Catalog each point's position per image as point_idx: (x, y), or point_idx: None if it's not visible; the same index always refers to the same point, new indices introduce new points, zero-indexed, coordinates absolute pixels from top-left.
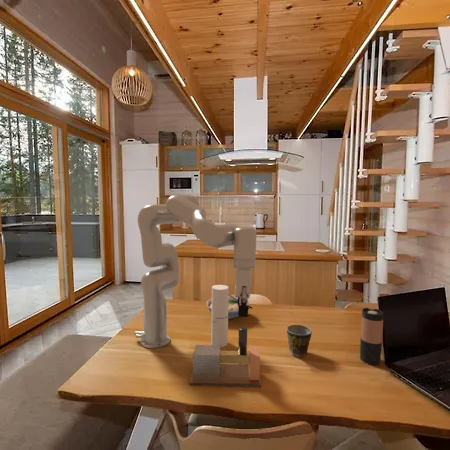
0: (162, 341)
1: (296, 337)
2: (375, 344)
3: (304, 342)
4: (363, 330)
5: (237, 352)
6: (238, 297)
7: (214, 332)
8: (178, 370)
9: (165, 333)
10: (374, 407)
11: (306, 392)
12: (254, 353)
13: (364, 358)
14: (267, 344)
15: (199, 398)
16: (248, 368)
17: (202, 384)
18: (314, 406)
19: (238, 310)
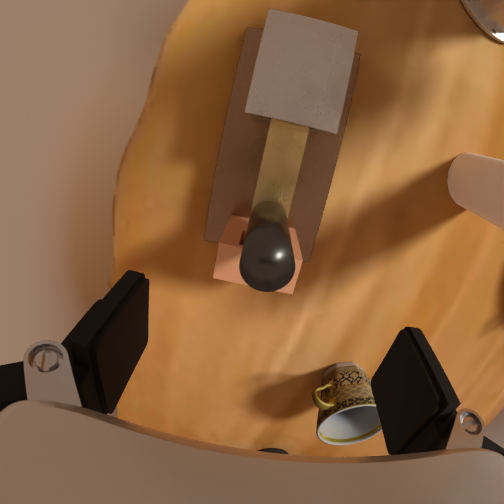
0: (480, 10)
1: (326, 410)
2: None
3: (318, 412)
4: None
5: (278, 200)
6: (432, 391)
7: (485, 164)
8: (335, 10)
9: (501, 18)
10: (141, 400)
11: (178, 332)
12: (238, 264)
13: None
14: (412, 321)
15: (182, 56)
16: (293, 227)
17: (238, 65)
18: None
19: (101, 300)
